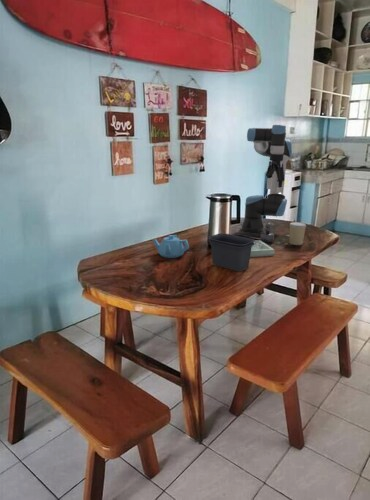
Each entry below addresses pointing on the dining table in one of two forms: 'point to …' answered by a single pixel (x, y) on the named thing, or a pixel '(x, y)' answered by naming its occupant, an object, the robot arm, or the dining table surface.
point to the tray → (264, 252)
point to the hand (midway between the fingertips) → (273, 191)
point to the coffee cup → (296, 233)
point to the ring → (256, 246)
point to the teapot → (171, 246)
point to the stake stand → (267, 235)
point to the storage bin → (231, 251)
